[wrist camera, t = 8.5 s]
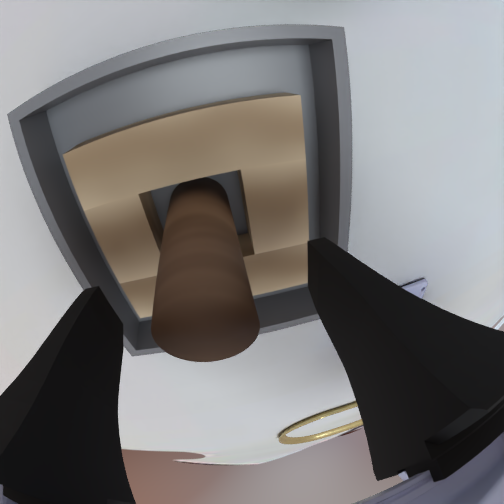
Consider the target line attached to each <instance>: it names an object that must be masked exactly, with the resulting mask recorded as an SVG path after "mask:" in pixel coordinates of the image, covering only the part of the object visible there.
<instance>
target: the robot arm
mask: <svg viewBox="0 0 504 504" xmlns="http://www.w3.org/2000/svg"><path fill="white" fill-rule="evenodd" d="M307 249H308V289H309V291H310V294H311V297H312V300H313V303H314V305H315V308H316V311H317V313H318V315H319V317H320V319H321V321H322V323H323V325H324V327H325V329H326V331H327V333H328V335H329V337H330V339H331V341H332V343H333V345H334V347H335V349H336V351H337V353H338V355H339V357H340V359H341V361H342V363H343V365H344V368H345V370H346V372H347V375H348V378H349V381H350V384H351V387H352V389H353V392H354V395H355V398H356V402H357V405H358V408H359V411H360V415H361V418H362V422H363V425H364V429H365V433H366V437H367V441H368V445H369V450H370V455H371V459H372V465H373V470H374V474H375V476H376V479H377V481H379V480H382V479H385V478H389V477H392V476H395V475H399V476H400V477H401V479H402V480H403V482H401V483H399V484H397V485H395V486H393V487H391V488H389V489H387V490H384V491H383V492H380V493H378V494H375V495H373V496H371V497H368V498H366V499H364V500H361V501H358V502H356V503H353V504H504V332H503V331H499V330H496V329H492V328H489V327H487V326H484V325H481V324H478V323H475V322H472V321H470V320H467V319H464V318H462V317H459V316H457V315H455V314H453V313H450V312H448V311H446V310H443V309H441V308H439V307H437V306H435V305H433V304H431V303H429V302H427V301H425V300H423V299H422V297H423V295H424V292H425V290H426V287H427V285H428V281H427V280H426V279H423V280H420V281H417V282H415V283H412V284H409V285H406V286H404V287H400V286H398V285H396V284H395V283H393V282H392V281H390V280H388V279H387V278H385V277H383V276H382V275H380V274H379V273H377V272H376V271H374V270H373V269H371V268H370V267H368V266H367V265H365V264H364V263H362V262H361V261H359V260H358V259H356V258H355V257H353V256H352V255H351V254H349V253H348V252H346V251H345V250H343V249H342V248H340V247H339V246H338V245H336V244H335V243H333V242H332V241H330V240H329V239H327V238H325V237H323V238H318V239H314V240H309V241H307ZM122 356H123V323H122V321H121V320H120V318H119V317H118V315H117V314H116V312H115V311H114V309H113V308H112V306H111V305H110V303H109V301H108V300H107V298H106V297H105V295H104V293H103V292H102V290H101V289H100V287H99V286H96V287H91V288H86V289H85V290H84V291H83V292H82V293H81V294H80V295H79V296H78V297H77V299H76V300H75V301H74V302H73V304H72V305H71V306H70V307H69V309H68V310H67V311H66V313H65V314H64V315H63V317H62V318H61V319H60V321H59V322H58V323H57V325H56V326H55V328H54V329H53V330H52V332H51V333H50V335H49V336H48V337H47V339H46V340H45V341H44V343H43V344H42V345H41V347H40V348H39V350H38V351H37V352H36V354H35V355H34V356H33V358H32V359H31V360H30V362H29V363H28V364H27V366H26V367H25V368H24V369H23V370H22V372H21V373H20V374H19V375H18V377H17V378H16V379H15V380H14V381H13V382H12V383H11V385H10V386H9V387H8V388H7V389H6V390H5V391H4V392H3V393H2V395H1V396H0V504H136V502H135V500H134V497H133V494H132V491H131V488H130V485H129V482H128V479H127V475H126V471H125V467H124V462H123V457H122V451H121V444H120V437H119V425H118V395H119V384H120V374H121V365H122Z"/></svg>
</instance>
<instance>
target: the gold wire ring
mask: <svg viewBox="0 0 504 504" xmlns="http://www.w3.org/2000/svg"><path fill="white" fill-rule="evenodd" d="M357 406H358V405H357V402H353V403H350V404H347V405H344V406H341V407H338V408H335V409H332V410H328V411H326V412H323V413H320V414H317V415H315V416H312V417H309V418H307V419H305V420H302V421H300V422H298V423H296V424H294V425H292V426H291V427H289V428H287V429H286V430H285V431H284V432H283V433H282V434H281V435H280V437H279V442H280V443H282V444H299V443H305V442H310V441H314V440H318V439H321V438H324V437H328V436H331V435H334V434H337V433H340V432H343V431H346V430H349V429H352V428H355V427H357V426H360V425H363V422H362V419H361V420H358V421H355V422H353V423H350V424H347V425H344V426H341V427H338V428H335V429H332V430H328V431H325V432H322V433H318V434H314V435H310V436H305V437H295V438H293V437H287V436H286V435H285V434H287V433H289V432H290V431H292V430H294V429H297V428H299V427H301V426H303V425H306V424H308V423H311V422H313V421H316V420H318V419H321V418H324V417H327V416H330V415H333V414H336V413H339V412H342V411H345V410H348V409H351V408H354V407H357Z"/></svg>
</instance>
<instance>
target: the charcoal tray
mask: <svg viewBox="0 0 504 504" xmlns="http://www.w3.org/2000/svg"><path fill="white" fill-rule="evenodd" d="M285 92H286V93H292V94H298V95H301V105H302V116H303V128H304V140H305V155H306V171H307V192H308V220H309V240H314V239H318V238H323V237H325V238H327V239H329V240H330V241H332V242H333V243H335V244H336V245H338V246H339V247H340V248H342V249H343V250H345V251H346V252H347V250H348V239H349V226H350V211H351V190H352V112H351V93H350V78H349V67H348V56H347V47H346V39H345V32H344V27H337V26H324V25H261V26H248V27H238V28H230V29H222V30H215V31H209V32H203V33H198V34H193V35H188V36H183V37H179V38H175V39H171V40H167V41H163V42H159V43H156V44H152V45H149V46H145V47H142V48H139V49H136V50H133V51H130V52H127V53H124V54H121V55H119V56H116V57H113V58H111V59H108V60H106V61H103V62H101V63H98V64H96V65H94V66H91V67H89V68H87V69H85V70H82V71H80V72H78V73H76V74H74V75H72V76H70V77H68V78H66V79H64V80H62V81H60V82H58V83H56V84H55V85H53V86H51V87H49V88H47V89H46V90H44V91H42V92H41V93H39V94H37V95H36V96H34V97H32V98H31V99H29V100H28V101H26V102H25V103H23V104H21V105H20V106H18V107H17V108H16V109H14V110H13V111H11V112H10V113H8V114H7V115H8V120H9V124H10V127H11V131H12V135H13V138H14V142H15V145H16V148H17V151H18V155H19V158H20V161H21V164H22V166H23V169H24V172H25V175H26V177H27V180H28V183H29V185H30V188H31V190H32V193H33V195H34V197H35V200H36V202H37V204H38V207H39V209H40V211H41V213H42V215H43V218H44V220H45V222H46V224H47V226H48V228H49V230H50V232H51V234H52V236H53V238H54V240H55V242H56V244H57V246H58V247H59V249H60V251H61V253H62V255H63V257H64V258H65V260H66V262H67V264H68V265H69V267H70V269H71V270H72V272H73V274H74V275H75V277H76V279H77V280H78V282H79V284H80V285H81V287H82V288H83V290H85V289H86V288H91V287H96V286H99V287H100V289H101V290H102V292H103V293H104V295H105V297H106V298H107V300H108V301H109V303H110V305H111V306H112V308H113V309H114V311H115V312H116V314H117V315H118V317H119V318H120V320H121V321H122V323H123V346H124V347H125V348H126V350H127V351H128V352H129V353H130V354H131V356H139V355H147V354H154V353H161V352H165V351H164V350H162V349H161V348H160V347H159V346H158V345H157V344H156V342H155V341H154V339H153V337H152V334H151V322H152V316H150V317H144V318H140V317H139V315H138V314H137V312H136V311H135V309H134V307H133V306H132V304H131V302H130V301H129V299H128V297H127V295H126V294H125V292H124V290H123V289H122V287H121V285H120V283H119V281H118V280H117V278H116V276H115V274H114V272H113V270H112V268H111V267H110V265H109V263H108V261H107V259H106V257H105V255H104V253H103V251H102V249H101V247H100V245H99V243H98V241H97V239H96V237H95V234H94V232H93V230H92V228H91V226H90V224H89V221H88V219H87V217H86V215H85V212H84V210H83V208H82V205H81V203H80V200H79V198H78V195H77V193H76V190H75V188H74V185H73V183H72V180H71V177H70V174H69V172H68V169H67V166H66V163H65V160H64V157H63V154H64V153H66V152H67V151H69V150H70V149H72V148H73V147H75V146H76V145H78V144H80V143H82V142H84V141H86V140H89V139H91V138H94V137H96V136H99V135H102V134H104V133H107V132H110V131H112V130H115V129H118V128H121V127H124V126H127V125H130V124H133V123H136V122H139V121H142V120H145V119H149V118H152V117H156V116H159V115H163V114H166V113H170V112H174V111H178V110H182V109H186V108H190V107H195V106H199V105H204V104H209V103H214V102H219V101H225V100H231V99H237V98H243V97H250V96H257V95H266V94H275V93H285ZM207 177H208V178H211V179H213V180H215V181H217V182H218V183H220V184H221V185H222V187H223V188H224V189H225V191H226V193H227V196H228V200H229V204H230V208H231V212H232V216H233V220H234V224H235V228H236V232H237V235H241V234H246V233H248V230H247V224H246V218H245V213H244V207H243V201H242V195H241V189H240V183H239V177H238V172H237V170H236V171H231V172H226V173H221V174H216V175H212V176H207ZM178 184H180V183H177V184H173V185H169V186H166V187H162V188H158V189H154V190H151V191H150V192H151V195H152V198H153V201H154V204H155V207H156V210H157V213H158V216H159V219H160V222H161V225H162V228H163V230H164V228H165V222H166V217H167V212H168V207H169V202H170V197H171V194H172V192H173V190H174V189H175V188H176V186H177V185H178ZM253 298H254V302H255V306H256V310H257V314H258V318H259V321H260V330H259V334H263V333H267V332H271V331H276V330H280V329H284V328H288V327H292V326H296V325H299V324H303V323H307V322H311V321H314V320H318V319H320V317H319V315H318V313H317V311H316V308H315V305H314V303H313V300H312V297H311V294H310V291H309V289H308V283H305V284H301V285H297V286H293V287H289V288H285V289H280V290H276V291H272V292H268V293H263V294H259V295H254V296H253ZM259 334H258V335H259Z"/></svg>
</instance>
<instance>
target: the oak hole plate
mask: <svg viewBox="0 0 504 504" xmlns="http://www.w3.org/2000/svg"><path fill="white" fill-rule="evenodd" d="M63 157H64V160H65V163H66V166H67V169H68V172H69V174H70V177H71V180H72V183H73V185H74V188H75V190H76V193H77V195H78V198H79V200H80V203H81V205H82V208H83V210H84V212H85V215H86V217H87V219H88V221H89V224H90V226H91V228H92V230H93V232H94V234H95V237H96V239H97V241H98V243H99V245H100V247H101V249H102V251H103V253H104V255H105V257H106V259H107V261H108V263H109V265H110V267H111V268H112V270H113V272H114V274H115V276H116V278H117V280H118V281H119V283H120V285H121V287H122V289H123V290H124V292H125V294H126V295H127V297H128V299H129V301H130V302H131V304H132V306H133V307H134V309H135V311H136V312H137V314H138V315H139V317H140V318H144V317H150V316H152V312H153V302H154V294H155V286H156V278H157V271H158V264H159V258H160V251H161V245H162V239H163V233H164V230H163V228H162V225H161V222H160V219H159V216H158V213H157V210H156V207H155V204H154V201H153V198H152V195H151V192H150V191H151V190H154V189H158V188H162V187H166V186H169V185H173V184H177V183H181V182H186V181H190V180H194V179H198V178H203V177H207V176H212V175H216V174H221V173H226V172H231V171H236V170H237V172H238V177H239V183H240V189H241V195H242V201H243V207H244V213H245V218H246V224H247V230H248V233H246V234H241V235H237V236H238V240H239V244H240V248H241V252H242V255H243V259H244V263H245V267H246V271H247V275H248V279H249V283H250V287H251V291H252V295H253V296H254V295H259V294H263V293H268V292H272V291H276V290H280V289H285V288H289V287H293V286H297V285H301V284H305V283H308V249H307V241H309V220H308V192H307V171H306V155H305V140H304V128H303V116H302V105H301V95H298V94H292V93H286V92H285V93H275V94H266V95H257V96H250V97H243V98H237V99H231V100H225V101H219V102H214V103H209V104H204V105H199V106H195V107H190V108H186V109H182V110H178V111H174V112H170V113H166V114H163V115H159V116H156V117H152V118H149V119H145V120H142V121H139V122H136V123H133V124H130V125H127V126H124V127H121V128H118V129H115V130H112V131H110V132H107V133H104V134H102V135H99V136H96V137H94V138H91V139H89V140H86V141H84V142H82V143H80V144H78V145H76V146H75V147H73V148H72V149H70V150H69V151H67V152H66V153H64V154H63Z"/></svg>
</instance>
